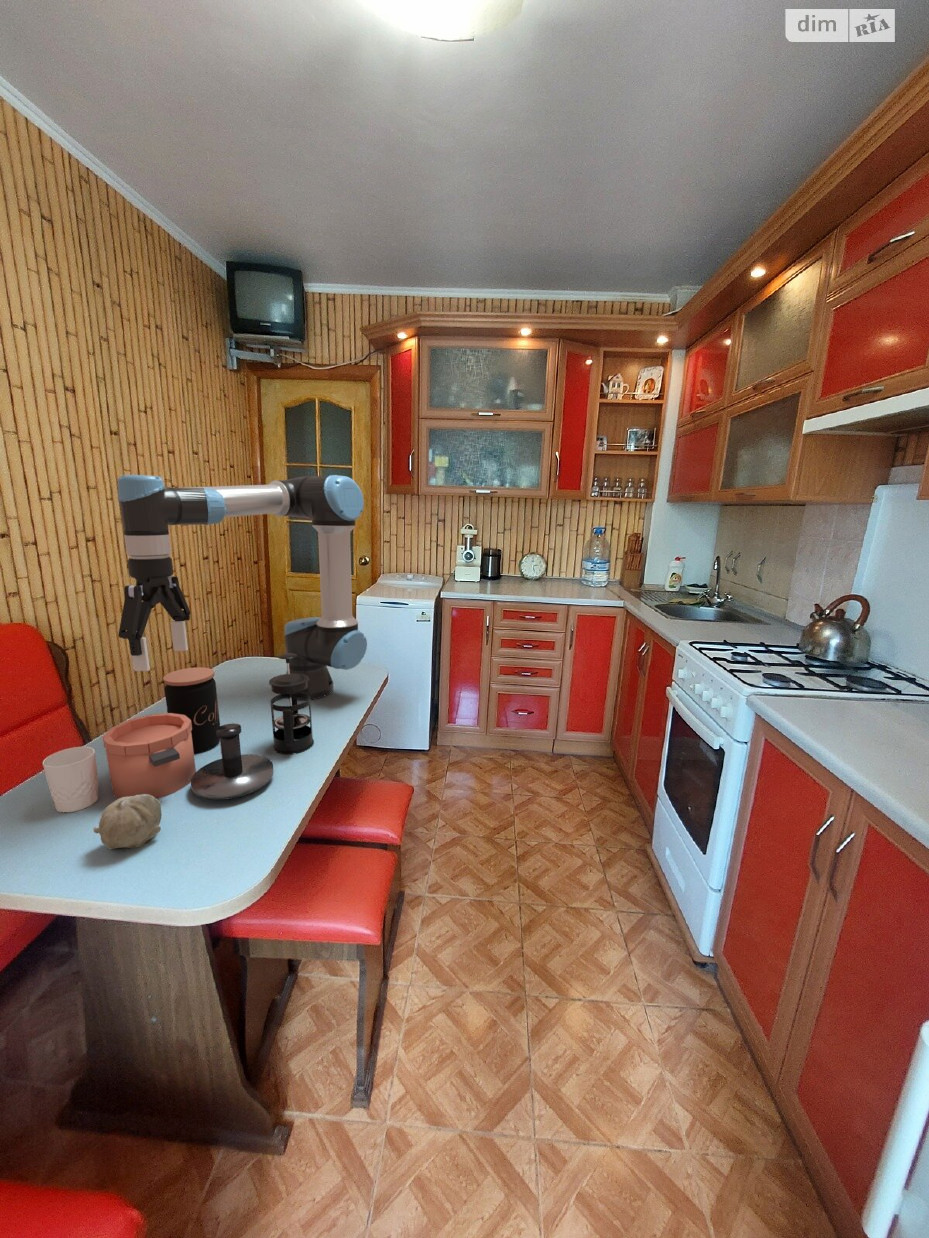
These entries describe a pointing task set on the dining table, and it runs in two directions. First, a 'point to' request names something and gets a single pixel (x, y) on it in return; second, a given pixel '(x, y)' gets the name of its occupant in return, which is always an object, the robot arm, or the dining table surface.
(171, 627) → the robot arm
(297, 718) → the french press
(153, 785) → the pot
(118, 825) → the garlic bulb
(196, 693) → the coffee jar
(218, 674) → the dining table surface
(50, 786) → the white cup
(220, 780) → the lid
